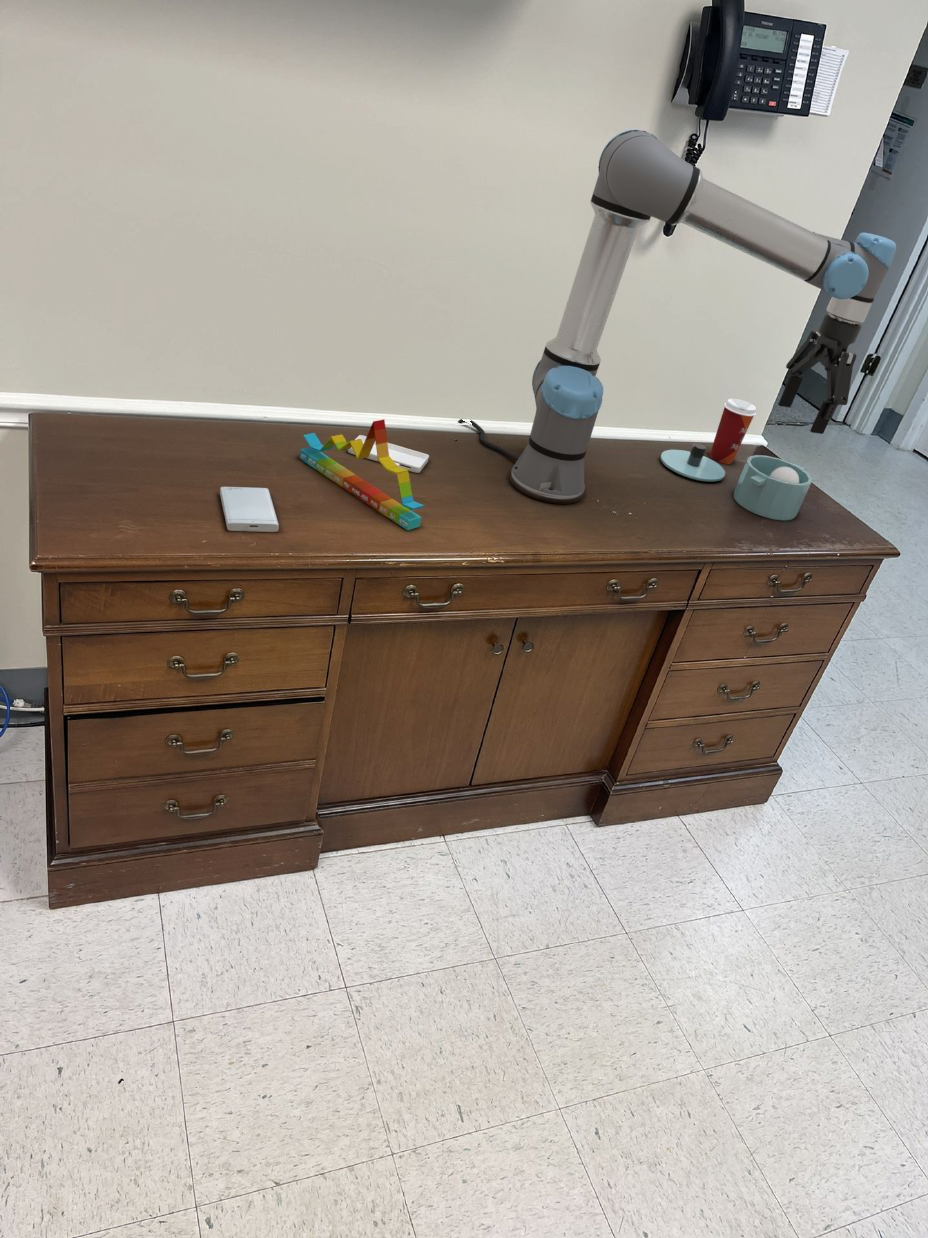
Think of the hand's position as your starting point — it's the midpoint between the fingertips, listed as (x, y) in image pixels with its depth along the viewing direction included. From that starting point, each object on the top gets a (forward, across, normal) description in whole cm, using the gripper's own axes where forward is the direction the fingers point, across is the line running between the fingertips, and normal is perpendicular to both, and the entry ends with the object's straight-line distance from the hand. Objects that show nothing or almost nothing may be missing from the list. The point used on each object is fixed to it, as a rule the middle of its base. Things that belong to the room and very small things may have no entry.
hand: (799, 419), depth 192 cm
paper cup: (+20, +23, -1) cm, 31 cm away
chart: (+21, -11, +92) cm, 95 cm away
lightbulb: (+19, +3, 0) cm, 19 cm away
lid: (+20, +15, +11) cm, 27 cm away
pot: (+20, 0, 0) cm, 20 cm away
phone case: (+21, +6, +84) cm, 86 cm away
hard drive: (+22, -22, +112) cm, 116 cm away
